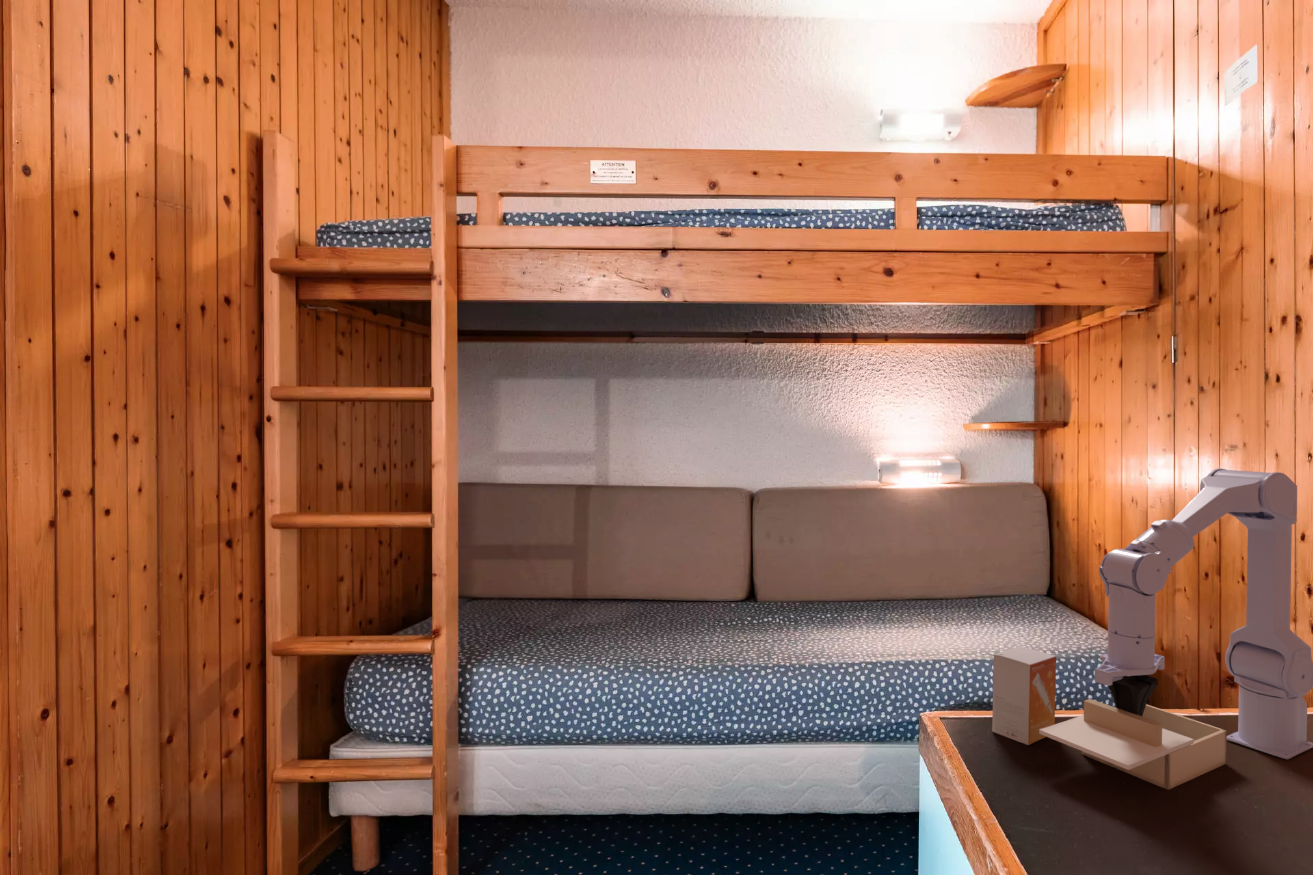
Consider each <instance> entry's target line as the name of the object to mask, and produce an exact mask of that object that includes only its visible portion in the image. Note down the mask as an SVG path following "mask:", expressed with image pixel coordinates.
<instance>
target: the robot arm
mask: <svg viewBox="0 0 1313 875" xmlns="http://www.w3.org/2000/svg"><path fill="white" fill-rule="evenodd" d="M1227 514H1228V515H1230V516H1233V517H1234V518H1235V519H1237V520H1238V521H1239V522H1240V523H1242V524H1243V525H1244V527H1246V529H1247V559H1246V561H1247V562H1246V563H1247V564H1246V568H1247V569H1246V570H1247V571H1246V613H1245V614H1246V622H1245V623H1246V625H1244V626H1242V627H1240V628H1238V629H1235V630H1234V631H1232V632H1231V633H1230V635H1229V636H1230V637H1229V644H1228V646H1227V649H1226V652H1225V654H1224V655H1225V656H1224V661H1225V662H1224V663H1225V666H1226V669H1227V670H1228V672H1229V674H1230V675H1231V676H1233V678H1234V679H1233V680H1234V681H1233V682H1234V683H1237V684H1238V714H1237V715H1238V720H1237V728H1238V730H1237V731H1236V732H1233V733H1230V734H1229V735H1228V734H1227V741H1230V742H1233V743H1236V744H1239V745H1242V746H1244V747H1248V748H1251V749H1254V750H1257V751H1259V752H1262V753H1265V754H1266V753H1267V754H1268V755H1272V756H1275V757H1278V758H1280V759H1282V760H1283V759H1285V760H1289V759H1292V758H1293V757H1296V756H1297V755H1300V754H1302V753H1304V752H1306V751H1308V750H1310V749H1312V748H1313V743H1312V742H1311V741H1307V738H1308V737H1307V732H1308V731H1307V730H1308V727H1307V726H1308V704H1307V702H1306V699H1305V696H1306V695H1307V694H1308V693H1309V692H1311V690H1312V689H1313V657H1312V647H1311V645H1309V644H1308V643H1307V642H1306V641H1304V640H1303V639H1302V638H1300V637H1299V636H1298V635H1297V634H1296V633H1294V631H1292V629H1291V602H1292V601H1291V596H1292V595H1291V593H1292V591H1291V589H1292V547H1293V546H1292V540H1293V535H1292V534H1293V532H1292V531H1293V526H1292V525H1295V524H1296V523H1297V521H1298V520H1297V515H1298V485H1297V484H1296V483H1295V482H1294V481H1293V479H1291V478H1290V477H1289V476H1288V475H1287V474H1285V473H1284V472H1279V471H1274V472H1265V471H1264V472H1263V471H1251V470H1250V471H1248V470H1234V469H1233V470H1232V469H1225V468H1215V469H1212V470H1211V471H1210V472H1209V473H1207V475H1206V476H1205V477H1203V478H1202V479H1200V486H1199V491H1198V493H1197V494H1196V495H1195V496H1194V498H1192V499H1191V500H1190V501H1189V502H1188V504H1186V505H1185V506H1184V507H1183V509H1181V510H1180V512H1178V514H1176V516H1174V518H1173V519H1160V520H1154V521H1153V522H1152V523H1150V527H1149V528H1147V529H1146V530H1145V531H1144V532H1143V533H1141V535H1139V536H1138V537H1137V538H1136V539H1134V540H1132V541H1131V542H1130V543H1129V544H1128V545H1127V546H1125V547H1124V548H1115V549H1113V550H1112V551H1110V552H1108V553H1106V554H1105V555H1104V557H1103V558H1102V560H1101V564H1100V566H1098V573H1099V578H1100V579H1101V581H1102V583H1103V584H1104V594H1105V595H1106V597H1107V598H1108V606H1107V607H1108V609H1107V611H1108V617H1107V622H1108V623H1107V653H1103V654H1100V655H1099V660H1100V661H1101V662H1102V663H1101V664H1100V665H1099V666H1098V667H1095V668H1094V682H1095V683H1098V684H1101V685H1104V686H1107V687H1108V689H1109V691H1110V693H1111V696H1112V698H1113V701H1114V704H1115V708H1118V709H1121V710H1124V711H1127V712H1130V713H1133V714H1136V715H1139V716H1143V713H1144V709H1145V706H1146V704H1147V705H1148V702H1149V699H1150V697H1151V695H1152V694H1153V692H1154V690H1155V689H1156V688H1157V687H1158V685H1159V679H1158V678H1156V677H1153V676H1151V675H1153V674H1155V673H1156V672H1157V670H1158V671H1162V670H1165V656H1163V655H1160V654H1156V653H1155V645H1156V644H1155V643H1156V642H1155V641H1156V635H1155V634H1156V598H1157V597H1156V594H1157V593H1158V592H1160V591H1162V590H1163V589H1164V587H1165V585H1166V583H1167V580H1168V576H1169V575H1170V574H1171V571H1172V568H1173V567H1174V566H1175V565H1176V564H1178V562H1179V561H1181V560H1182V559H1184V557H1186V556H1187V555H1188V554H1189V553H1190V552H1191V551H1192V550H1194V547H1195V539H1194V537H1195V536H1197V535H1198V534H1200V533H1201V532H1203V531H1204V530H1205V529H1207V528H1209V527H1210V526H1212V525H1213V524H1214V523H1215V522H1217V521H1219V520H1220V519H1221V518H1223V517H1224V516H1225V515H1227Z"/></svg>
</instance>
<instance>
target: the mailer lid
mask: <svg viewBox="0 0 1313 875" xmlns="http://www.w3.org/2000/svg"><path fill="white" fill-rule="evenodd" d="M1039 734H1042V735H1044V736H1046V737H1047V738H1049V739H1051V740H1054V741H1056V742H1059V743H1062V744H1064V745H1066V746H1068V747H1071V748H1074V749H1076V750H1079V751H1081V752H1082V751H1083V752H1085V753H1088V754H1090V755H1093V756H1095V757H1098V758H1100V759H1103V760H1105V761H1107V762H1110V763H1112V764H1115V765H1117V766H1120V767H1122V768H1125V769H1127V770H1130V769H1132V768H1135V767H1137V766H1139V765H1142V764H1144V763H1147V762H1149V761H1152V760H1154V759H1157V758H1159V757H1161V756H1164V755H1166V754H1169V753H1171V752H1174V751H1176V750H1179V749H1181V748H1183V747H1186V746H1188V745H1191V744H1193V743H1194V739H1192V738H1189V737H1186V736H1183V735H1180V734H1177V733H1174V732H1172V731H1169V730H1166V729H1163V728H1162V723H1159V722H1156V721H1153V720H1151V719H1148V718H1145V717H1142V716H1139V715H1136V714H1133V713H1130V712H1127V711H1124V710H1121V709H1118V708H1116V706H1112V705H1110V704H1107V703H1104V702H1100V701H1098V700H1094V699H1091V698H1089V699H1086V700H1083V714H1082V715H1079V716H1076V717H1073V718H1070V719H1068V720H1067V719H1066V720H1065V721H1062V722H1058V723H1055V725H1052V726H1049V727H1045V728H1042V729H1039ZM1046 737H1045V738H1046Z"/></svg>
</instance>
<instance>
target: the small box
mask: <svg viewBox="0 0 1313 875" xmlns="http://www.w3.org/2000/svg"><path fill="white" fill-rule="evenodd" d="M992 664H993V666H992V668H993V670H992V671H993V672H992V673H993V674H992V679H993V680H992V718H991V719H992V720H991V721H992V723H991V724H992V726H991V731H992V732H993V733H995V734H997V735H1000V736H1002V737H1005V738H1008V739H1011V740H1014V741H1016V742H1019V743H1022V744H1023V745H1027V746H1030V745H1032V744H1034V743H1035V742H1038V741H1040V740H1042V739H1044V738H1046V736H1044V735H1042V734H1039V729H1042V728H1045V727H1049V726H1052V725H1055V724H1056V723H1055V722H1056V721H1055V720H1056V719H1055V717H1056V715H1055V714H1056V688H1057V686H1056V682H1057V681H1056V680H1057V677H1056V675H1057V655H1053V654H1051V653H1046V652H1043V651H1040V650H1037V649H1034V648H1033V649H1032V648H1029V647H1025V646H1023V645H1020V646H1016V647H1013V648H1008V649H1006V650H1005V649H1004V650H1003V651H1001V652H1000V651H999V652H998V653H994V654H993V663H992Z"/></svg>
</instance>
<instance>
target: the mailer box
mask: <svg viewBox="0 0 1313 875" xmlns="http://www.w3.org/2000/svg"><path fill="white" fill-rule="evenodd" d="M1142 717H1145V718H1148V719H1151V720H1153V721H1156V722H1159V723H1162V728H1163V729H1166V730H1169V731H1172V732H1174V733H1177V734H1180V735H1183V736H1186V737H1189V738H1192V739H1194V743H1193V744H1191V745H1188V746H1186V747H1183V748H1181V749H1179V750H1176V751H1174V752H1171V753H1169V754H1166V755H1164V756H1161V757H1159V758H1157V759H1154V760H1152V761H1149V762H1147V763H1144V764H1142V765H1139V766H1137V767H1135V768H1132V769H1130V770H1127V769H1125V768H1122V767H1120V766H1117V765H1115V764H1112V763H1110V762H1107V761H1105V760H1103V759H1100V758H1098V757H1095V756H1093V755H1090V754H1088V753H1085V752H1083V751H1081V755H1082V756H1085V757H1088V758H1090V759H1092V760H1095V761H1096V762H1097V761H1098V762H1100V763H1102V764H1104V765H1107V766H1109V767H1112V768H1114V769H1116V770H1119V771H1121V772H1124V773H1125V774H1128V775H1131V776H1133V777H1137V779H1138V778H1139V779H1140V780H1143V781H1146V782H1148V783H1150V784H1153V785H1155V786H1158V787H1160V788H1163V789H1166V790H1168V791H1169V790H1172V789H1173V788H1175V787H1177V786H1180V785H1182V784H1184V783H1186V782H1188V781H1191V780H1194V779H1195V778H1198V777H1200V776H1201V775H1204V774H1206V773H1208V772H1210V771H1213V770H1215V769H1217V768H1220V767H1222V766H1224V765H1226V764H1227V741H1228V740H1227V736H1228V734H1227V732H1228V731H1227V730H1226V729H1222V728H1219V727H1216V726H1214V725H1211V724H1208V723H1204V722H1201V721H1198V720H1196V719H1193V718H1189V717H1187V716H1184V715H1180V714H1177V713H1173V712H1170V711H1169V710H1168V711H1167V710H1165V709H1162V708H1159V707H1156V706H1152V705H1149V704H1148V703H1147V704H1146V706H1145V709H1144V713H1143V716H1142Z"/></svg>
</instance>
